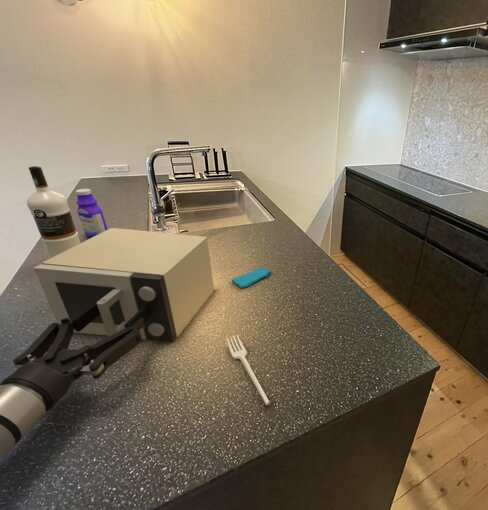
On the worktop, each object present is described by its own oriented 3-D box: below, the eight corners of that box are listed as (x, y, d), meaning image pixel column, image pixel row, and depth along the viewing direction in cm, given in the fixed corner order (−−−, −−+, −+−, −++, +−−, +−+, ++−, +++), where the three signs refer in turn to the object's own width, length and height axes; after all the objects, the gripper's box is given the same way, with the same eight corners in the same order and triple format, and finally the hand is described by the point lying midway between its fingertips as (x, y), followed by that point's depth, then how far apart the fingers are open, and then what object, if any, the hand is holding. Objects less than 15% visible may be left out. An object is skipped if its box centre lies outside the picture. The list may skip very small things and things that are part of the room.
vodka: (96, 259, 99) (66, 164, 85) (72, 273, 91) (34, 171, 77) (69, 256, 99) (34, 162, 86) (42, 270, 91) (-1, 168, 77)
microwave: (171, 345, 69) (156, 280, 61) (59, 333, 69) (30, 268, 62) (214, 290, 89) (207, 236, 81) (126, 281, 89) (111, 227, 82)
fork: (260, 410, 56) (259, 403, 56) (225, 344, 70) (224, 338, 70) (276, 402, 58) (276, 395, 57) (239, 339, 72) (238, 333, 71)
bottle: (81, 237, 112) (66, 190, 104) (95, 231, 117) (81, 186, 109) (99, 240, 111) (85, 193, 103) (112, 234, 116) (99, 189, 108)
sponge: (274, 273, 97) (264, 265, 101) (241, 287, 89) (230, 277, 92) (274, 277, 98) (264, 269, 101) (241, 291, 90) (230, 281, 93)
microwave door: (130, 356, 65) (109, 290, 57) (39, 347, 65) (6, 281, 57) (149, 334, 71) (133, 272, 63) (66, 326, 71) (40, 264, 63)
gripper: (-40, 409, 47) (78, 317, 67) (104, 422, 47) (178, 326, 67) (-65, 375, 43) (66, 289, 63) (89, 388, 43) (172, 298, 63)
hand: (124, 308), depth 65 cm, fingers open, 9 cm apart
